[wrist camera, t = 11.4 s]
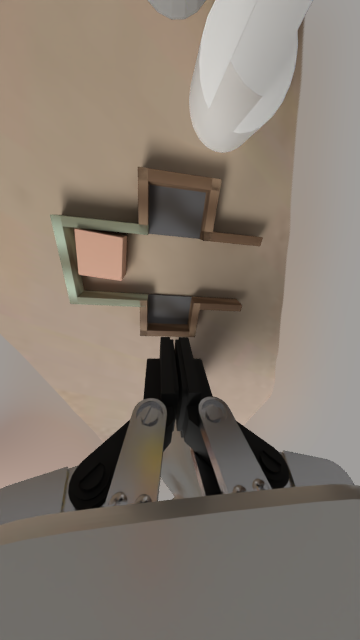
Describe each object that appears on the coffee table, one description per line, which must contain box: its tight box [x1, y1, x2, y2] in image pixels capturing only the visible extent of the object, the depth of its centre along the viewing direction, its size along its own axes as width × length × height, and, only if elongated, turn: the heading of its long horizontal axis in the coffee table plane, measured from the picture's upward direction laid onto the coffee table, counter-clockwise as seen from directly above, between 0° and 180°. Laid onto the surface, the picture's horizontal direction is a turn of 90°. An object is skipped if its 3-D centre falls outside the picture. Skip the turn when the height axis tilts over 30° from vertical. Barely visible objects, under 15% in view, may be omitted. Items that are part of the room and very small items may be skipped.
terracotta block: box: [74, 228, 127, 281], centre depth 26 cm, size 6×6×4 cm
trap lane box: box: [50, 167, 263, 337], centre depth 28 cm, size 24×29×3 cm
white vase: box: [189, 0, 313, 153], centre depth 16 cm, size 9×9×12 cm
